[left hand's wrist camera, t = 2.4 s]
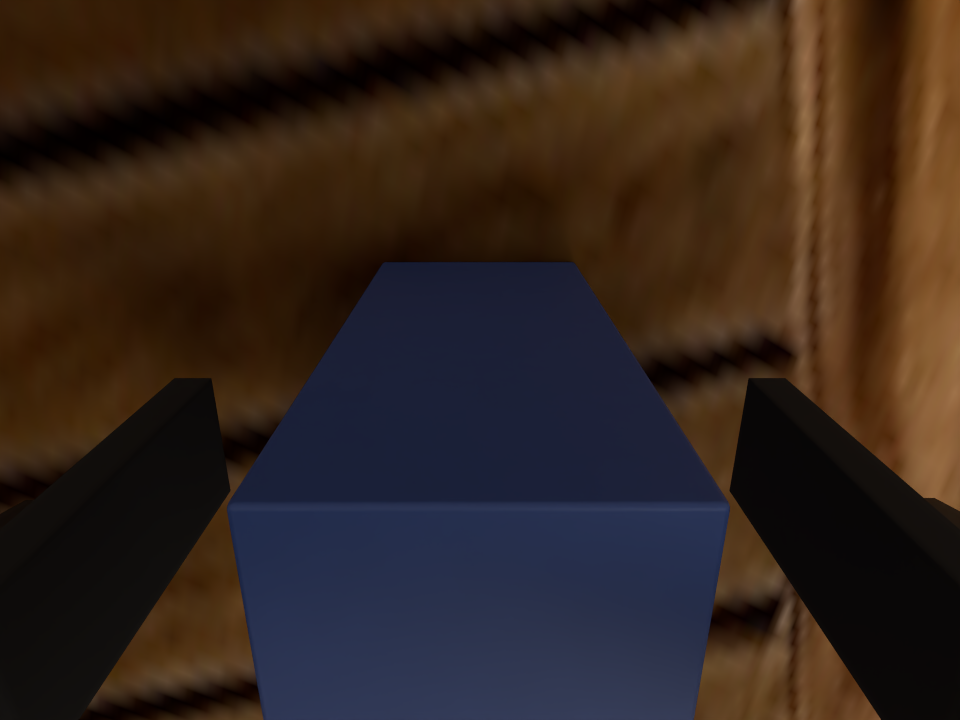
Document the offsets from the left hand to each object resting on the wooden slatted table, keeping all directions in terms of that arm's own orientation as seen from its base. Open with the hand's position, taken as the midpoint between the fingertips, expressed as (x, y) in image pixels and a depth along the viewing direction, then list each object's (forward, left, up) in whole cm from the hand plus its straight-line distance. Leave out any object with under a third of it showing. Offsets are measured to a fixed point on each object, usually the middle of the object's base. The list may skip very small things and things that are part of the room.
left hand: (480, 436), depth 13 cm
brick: (0, 0, -4) cm, 4 cm away
